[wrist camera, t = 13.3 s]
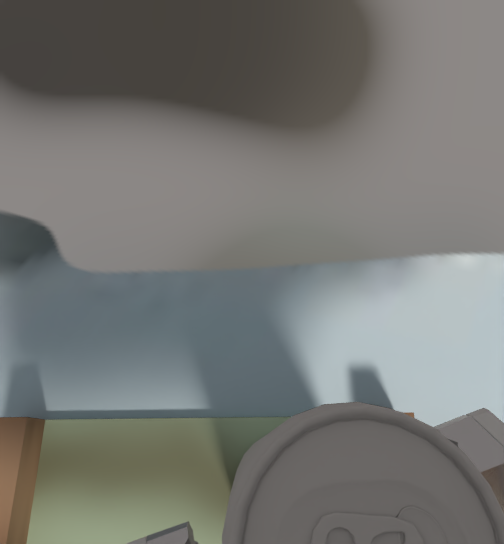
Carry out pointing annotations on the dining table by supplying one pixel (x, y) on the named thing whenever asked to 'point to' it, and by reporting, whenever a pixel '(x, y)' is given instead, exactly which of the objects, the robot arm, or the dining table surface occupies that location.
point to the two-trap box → (119, 476)
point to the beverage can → (359, 484)
